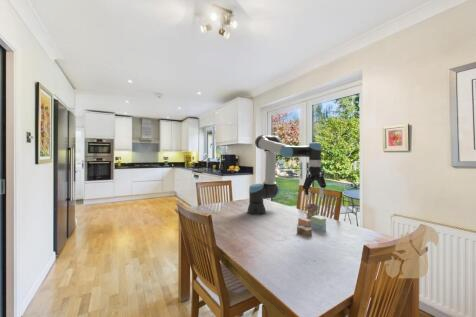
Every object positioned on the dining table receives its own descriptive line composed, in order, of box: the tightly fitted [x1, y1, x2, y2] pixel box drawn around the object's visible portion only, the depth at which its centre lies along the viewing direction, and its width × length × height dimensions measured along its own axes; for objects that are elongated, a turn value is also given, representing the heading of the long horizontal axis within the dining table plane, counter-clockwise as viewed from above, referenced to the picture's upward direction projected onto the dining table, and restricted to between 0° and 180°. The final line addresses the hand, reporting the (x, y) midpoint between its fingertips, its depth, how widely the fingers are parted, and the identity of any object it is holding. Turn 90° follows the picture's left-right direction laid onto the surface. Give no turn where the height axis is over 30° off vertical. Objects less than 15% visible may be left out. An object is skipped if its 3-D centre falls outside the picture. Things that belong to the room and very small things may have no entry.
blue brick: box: [310, 222, 327, 233], centre depth 140 cm, size 8×4×4 cm, turn 40°
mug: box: [302, 203, 320, 221], centre depth 161 cm, size 12×9×11 cm
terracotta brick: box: [297, 217, 312, 228], centre depth 150 cm, size 8×4×4 cm, turn 31°
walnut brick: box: [296, 225, 313, 238], centre depth 132 cm, size 8×4×4 cm, turn 31°
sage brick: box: [311, 215, 327, 226], centre depth 140 cm, size 8×4×4 cm, turn 29°
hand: (314, 198), depth 143 cm, fingers open, 13 cm apart
